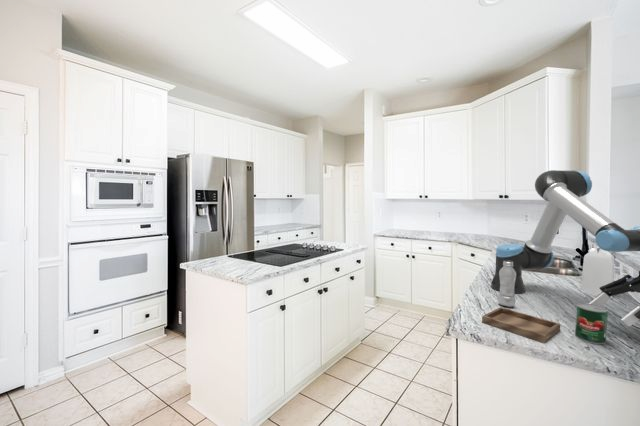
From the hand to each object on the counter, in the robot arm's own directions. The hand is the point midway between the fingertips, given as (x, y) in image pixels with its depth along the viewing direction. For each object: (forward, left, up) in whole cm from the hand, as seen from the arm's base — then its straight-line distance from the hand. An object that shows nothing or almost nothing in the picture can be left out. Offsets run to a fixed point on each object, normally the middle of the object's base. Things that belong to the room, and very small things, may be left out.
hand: (607, 314), depth 99 cm
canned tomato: (-4, -2, -9) cm, 10 cm away
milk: (-15, +68, -9) cm, 70 cm away
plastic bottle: (-34, +8, -9) cm, 36 cm away
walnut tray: (-22, -11, -9) cm, 26 cm away
